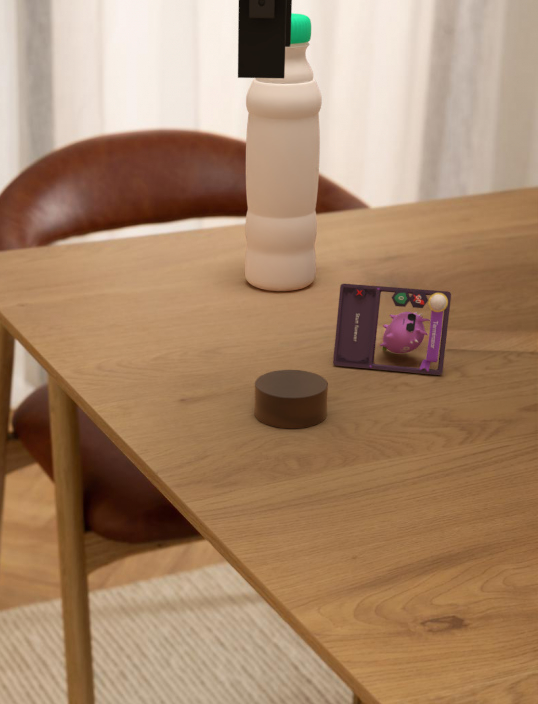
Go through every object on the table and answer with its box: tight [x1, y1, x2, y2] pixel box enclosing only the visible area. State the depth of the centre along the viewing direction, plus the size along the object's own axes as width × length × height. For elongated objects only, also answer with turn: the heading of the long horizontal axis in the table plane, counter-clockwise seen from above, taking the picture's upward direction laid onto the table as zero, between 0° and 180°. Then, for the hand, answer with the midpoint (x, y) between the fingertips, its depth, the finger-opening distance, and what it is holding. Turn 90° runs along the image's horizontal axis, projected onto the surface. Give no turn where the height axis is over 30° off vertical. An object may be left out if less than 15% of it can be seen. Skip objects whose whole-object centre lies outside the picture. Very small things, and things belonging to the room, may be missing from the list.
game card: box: [332, 283, 452, 376], centre depth 99 cm, size 7×5×9 cm
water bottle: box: [244, 12, 322, 292], centre depth 113 cm, size 7×7×25 cm
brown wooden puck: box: [253, 369, 329, 429], centre depth 90 cm, size 6×6×2 cm
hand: (266, 61), depth 75 cm, fingers open, 13 cm apart
